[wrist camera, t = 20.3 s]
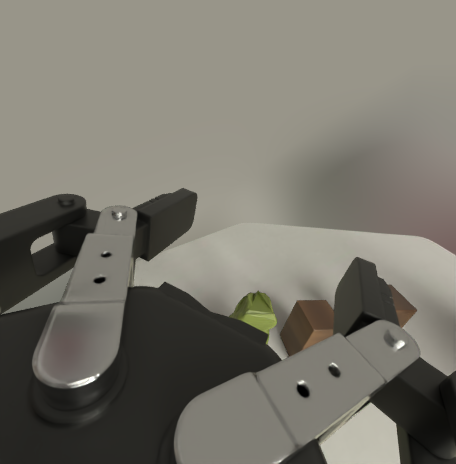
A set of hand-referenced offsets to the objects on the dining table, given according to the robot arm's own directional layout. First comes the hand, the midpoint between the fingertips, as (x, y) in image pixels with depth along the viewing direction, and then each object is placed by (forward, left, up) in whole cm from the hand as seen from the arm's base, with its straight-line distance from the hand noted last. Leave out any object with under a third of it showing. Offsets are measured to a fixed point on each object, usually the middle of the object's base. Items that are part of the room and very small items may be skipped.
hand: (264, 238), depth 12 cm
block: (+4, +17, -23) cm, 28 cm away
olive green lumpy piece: (-2, +10, -23) cm, 25 cm away
